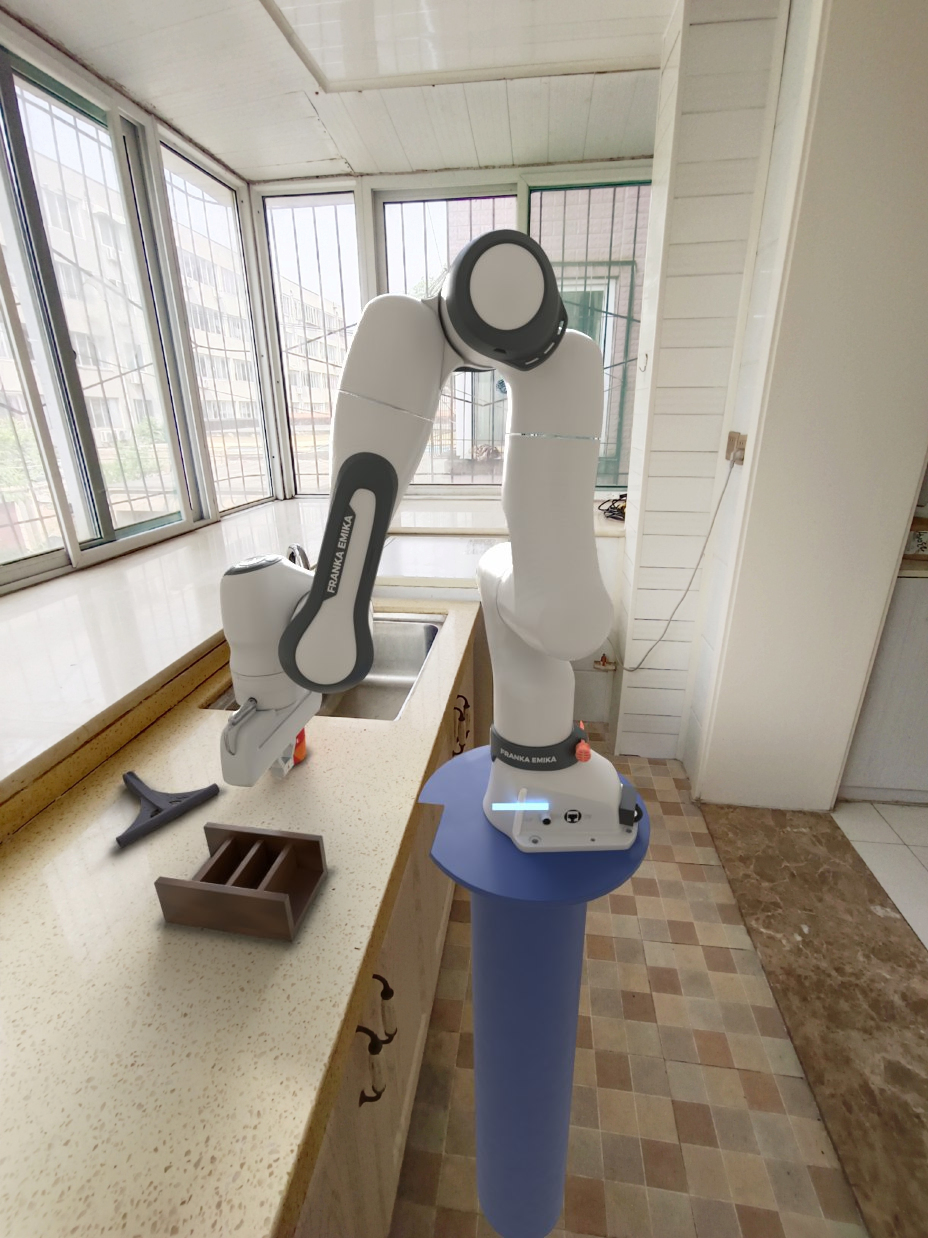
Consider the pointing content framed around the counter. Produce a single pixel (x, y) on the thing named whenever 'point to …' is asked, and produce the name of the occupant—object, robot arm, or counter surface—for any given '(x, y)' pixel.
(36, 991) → the counter surface
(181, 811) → the bracket
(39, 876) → the counter surface
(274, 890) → the rack
